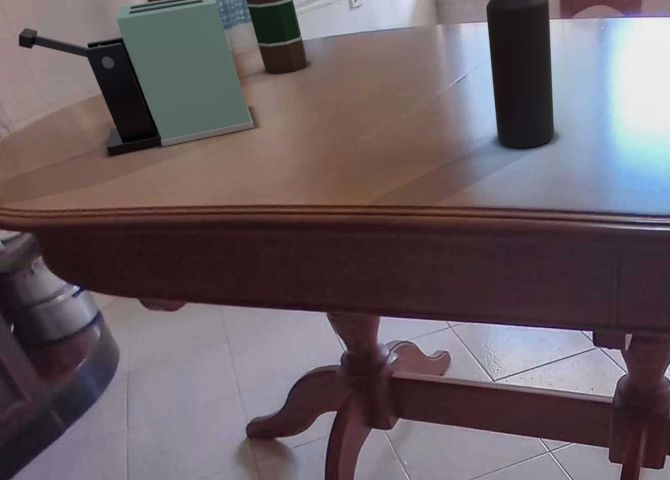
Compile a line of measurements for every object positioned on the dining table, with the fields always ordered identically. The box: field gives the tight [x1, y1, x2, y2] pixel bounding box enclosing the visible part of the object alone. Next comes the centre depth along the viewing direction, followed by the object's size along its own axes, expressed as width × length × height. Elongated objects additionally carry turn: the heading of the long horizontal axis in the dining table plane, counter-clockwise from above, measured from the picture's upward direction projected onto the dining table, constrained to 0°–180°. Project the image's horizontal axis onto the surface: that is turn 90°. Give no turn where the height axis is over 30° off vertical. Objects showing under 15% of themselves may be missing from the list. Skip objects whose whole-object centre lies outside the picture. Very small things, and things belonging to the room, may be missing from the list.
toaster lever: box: [18, 27, 105, 58], centre depth 90 cm, size 11×5×2 cm, turn 111°
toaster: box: [115, 0, 255, 147], centre depth 96 cm, size 12×10×16 cm
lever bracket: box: [85, 36, 162, 157], centre depth 95 cm, size 8×9×13 cm
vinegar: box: [485, 0, 555, 149], centre depth 78 cm, size 7×7×20 cm
